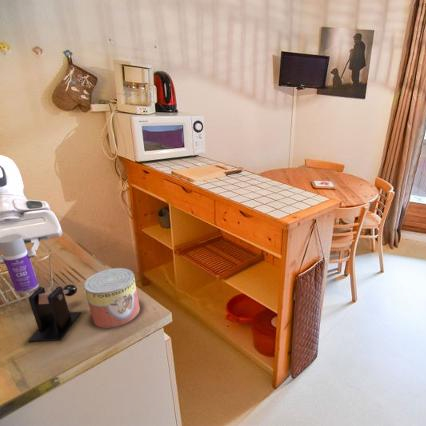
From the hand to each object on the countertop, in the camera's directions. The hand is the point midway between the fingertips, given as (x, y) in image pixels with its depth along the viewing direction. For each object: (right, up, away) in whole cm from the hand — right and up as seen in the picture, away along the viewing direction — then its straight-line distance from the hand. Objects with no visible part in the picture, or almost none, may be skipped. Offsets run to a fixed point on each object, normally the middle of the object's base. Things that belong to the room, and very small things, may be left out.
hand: (17, 260), depth 81 cm
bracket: (+9, -18, +2) cm, 20 cm away
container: (-1, -8, +4) cm, 9 cm away
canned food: (+21, -17, +8) cm, 28 cm away
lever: (+9, -11, +2) cm, 14 cm away
